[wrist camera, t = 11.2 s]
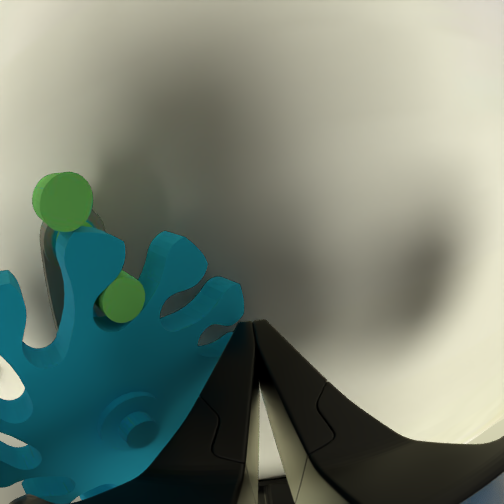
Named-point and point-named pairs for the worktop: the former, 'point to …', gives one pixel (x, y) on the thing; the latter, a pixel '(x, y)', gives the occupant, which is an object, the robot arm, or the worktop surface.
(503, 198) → the worktop surface
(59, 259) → the gear
